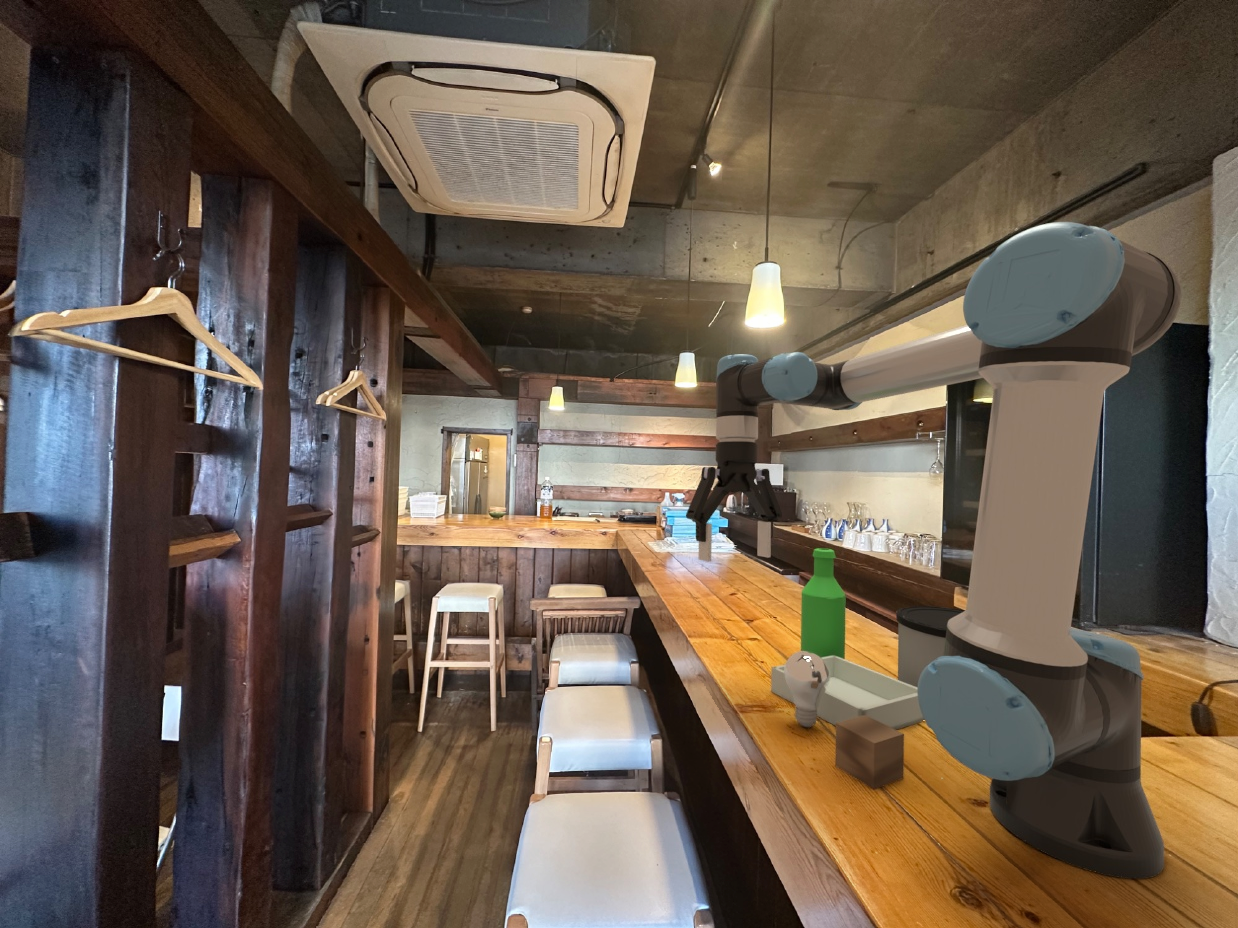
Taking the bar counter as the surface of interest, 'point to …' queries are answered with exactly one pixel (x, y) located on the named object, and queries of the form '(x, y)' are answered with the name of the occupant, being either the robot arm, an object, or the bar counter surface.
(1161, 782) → the bar counter surface
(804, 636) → the bottle
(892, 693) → the tray
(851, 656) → the bar counter surface
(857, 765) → the walnut block
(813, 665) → the light bulb
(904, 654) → the container
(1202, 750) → the bar counter surface
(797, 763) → the bar counter surface
